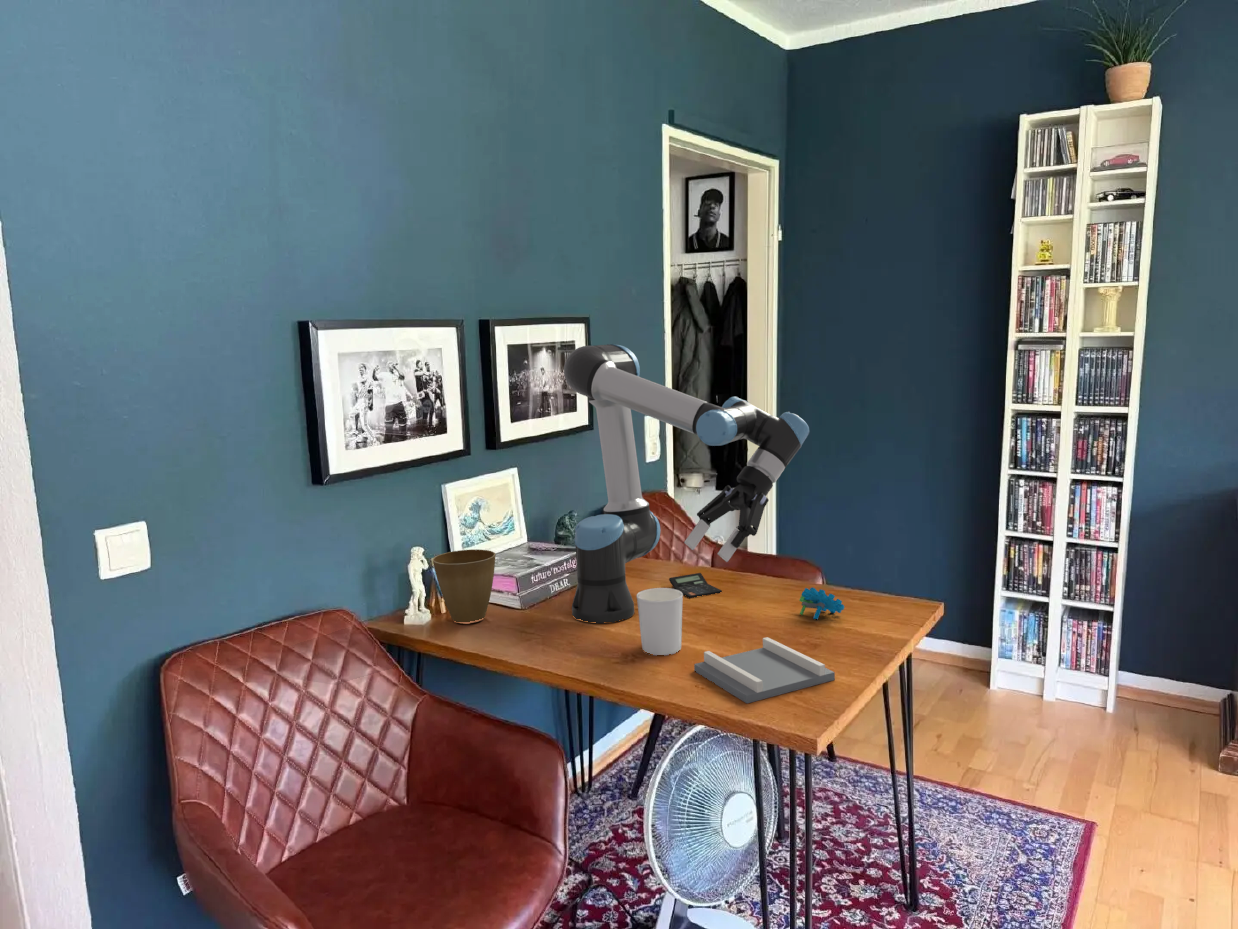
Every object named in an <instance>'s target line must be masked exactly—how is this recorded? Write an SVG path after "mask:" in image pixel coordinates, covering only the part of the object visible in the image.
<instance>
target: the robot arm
mask: <svg viewBox="0 0 1238 929" xmlns="http://www.w3.org/2000/svg"><path fill="white" fill-rule="evenodd" d="M640 373H641V367H640V363H639V360H638V358H637V356H636V355H635V353H634V352H633V351H631V350H630V349H629V348H628V347H626V346H624V345H620V344H614V343H612V344H611V343H607V344H598V345H583V346H579V347H577V348H576V349H574V350H573V351H571V353H570V354H569V355H568V356H567V358H566V360H565V362H564V366H563V375H564V379H565V382H566V384H567V385H568V386H569V387H570V388H571V389H572V390H573V391H574V392H576V393H578V394H579V395H582V396H584V397H587V398H588V402H589V403H590V404H591V405H592V406H593V407H595V409H596V410H595V411H596V412H595V413H596V417H597V425H598V433H599V441H600V447H601V448H600V449H601V455H602V456H601V457H602V463H603V470H604V471H603V472H604V478H605V486H606V493H607V494H606V495H607V499H608V500H607V504H606V505H605V506H604V507H603V514H597V515H595V516H594V515H593V516H589V517H585V518H584V519H581V520H580V521H579V522H578V523H577V524H576V526H575V530H574V531H575V532H574V534H575V535H574V544H575V558H576V575H577V576H576V578H577V586H576V590H575V594H574V597H573V601H572V605H571V616H572V615H573V616H574V617H575V618H576V619H581V620H583V621H588V622H596V623H595V624H605V623H604V622H612V623H616V622H615V621H618V622H620V621H619V620H622V619H625V620H627V619H630V618H632V616H633V615H634V614H635V603H634V599H633V597H632V595H631V591H630V589H629V587H628V584H627V579H626V564H627V563H629V562H631V561H634V560H636V559H639V558H641V557H644V556H646V555H647V554H648V553H650V552H652V551H653V550H654V548H656V546H657V545H658V544H659V543H658V542H659V541H660V538H661V524H660V521H659V519H658V517H657V516H655V515H654V513H653V511H651V509H650V503H649V502H648V501H647V500H646V499H644V497H643V493H642V485H641V479H640V472H639V463H638V455H637V448H636V441H635V440H636V439H635V433H634V425H633V416H632V411H635V412H637V413H640V414H642V415H644V416H648V417H651V418H653V419H655V420H657V421H660V422H663V423H666V424H668V425H671V426H673V427H675V428H678V429H681V430H683V431H685V432H689V433H691V434H693V435H695V436H697V437H698V439H700V441H702V442H703V443H704V444H705V445H707V446H710V447H711V446H712V447H713V446H714V447H715V446H718V447H719V446H724V445H728V444H729V443H732V442H735V441H739V440H742V439H744V440H746V441H749V442H751V443H752V444H754V445H756V446H758V447H757V449H756V450H755V451H754V453H753V454H752V456H750V458H749V460H748V461H747V462H746V466H744V467H743V468H742V469H741V471H740V472H739V474H738V475H737V476H736V482H737V485H736V486H735V487H734V488H732V487H731V486H730V485H729V484H727V485H726V486H725V487H724V488H723V489H722V490H721V492H720V493H719V494H717V495H716V496H715V497H714V498H713V499H712V500H710V501H709V502H708V503H707V504H706V505H705V506H704V507H702V508H701V509H700V510H699V511H698V512H697V513H696V516H697V517H698V518H699V520H698V522H697V523H696V525H695V526H694V527H693V529H692V530H691V532H690V533H689V535H687V537H686V539H685V540H684V542H683V543H684V544H685V545H686V546H687V547H688V548H689V549H690V550H692V551H694V550H695V548H697V546H698V544H699V543H700V542H701V541H702V539H703V537H704V536H705V535H706V533H707V532H708V530H709V529H710V528H711V524H712V523H713V522H715V521H717V520H718V519H720V518H721V517H722V516H724V515H726V514H728V513H729V512H734V511H739V519H738V526H736V528H734V529H733V530H732V532H731V534H730V535H729V537H728V538H727V540H726V541H725V542H724V544H723V545H722V546H721V548H720V549H719V551H718V552H717V555H718V556H719V557H720V558H722V560H724V561H725V563H728V562H729V560H730V559H731V558H732V557H733V555H734V553H735V552H736V551H737V549H739V547H740V546H741V544H742V543H743V541H744V540H745V539H746V538H748V537H749V536H752V537H754V536H756V535H757V534H758V530H759V527H760V524H761V520H762V517H763V513H764V510H765V507H766V506H767V504H768V502H769V498H768V497H767V495H768V494H769V492H770V491H771V490H772V488H773V487H774V484H775V483H776V482H777V480H778V479H779V478H780V477H781V475H782V473H783V472H784V471H785V469H786V468H787V467H788V465H789V464H790V463H791V461H792V460H793V458H794V457H795V455H796V454H797V453H798V452H799V450H800V449H801V448H802V445H803V444H804V442H805V440H806V439H807V438H808V436H809V435H810V427H809V424H808V423H807V422H806V421H805V420H804V419H803V418H802V417H800V416H799V415H798V414H796V413H792V412H790V411H786V412H783V413H782V414H780V416H779V417H777V416H774V415H772V414H771V413H769V412H766V411H765V410H762V409H761V408H759V407H757V406H756V405H753V404H752V403H751V402H749V401H747V400H745V399H742V398H739V397H738V396H731V397H729V398H728V399H727V400H725V401H724V403H723V404H722V406H719V405H716V404H713V403H709V402H708V401H705V400H703V399H700V398H697V397H695V396H693V395H689V394H687V393H684V392H681V391H678V390H676V389H673V388H670V387H668V386H665V385H662V384H660V383H657V382H654V381H651V380H649V379H647V378H643V377H641V376H640ZM576 619H575V620H576ZM622 621H623V620H622Z"/></svg>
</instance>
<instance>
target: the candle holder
mask: <svg viewBox="0 0 1238 929" xmlns="http://www.w3.org/2000/svg"><path fill="white" fill-rule="evenodd" d="M635 597H636V601H637V602H636V603H637V611H638V622H639V632H640V641H641V648H642V651H643V650H644V651H645V652H647V653H650V654H653V655H652V656H657V655H664V656H669V654H671V655H674V654H676V652H677V653H678V651H679V650H680V651H681V649H682V640H683V639H682V638H683V628H682V627H683V597H684V595H683V593H682V592H681V591H679V590H676V589H674V588H669V587H656V588H654V587H653V588H647V589H644V590H641V591H639V592H638V593H636V596H635ZM644 651H643V652H644ZM680 651H679V652H680ZM645 652H644V653H645ZM647 653H646V654H647ZM650 654H649V655H650Z"/></svg>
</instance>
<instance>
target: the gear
mask: <svg viewBox="0 0 1238 929" xmlns="http://www.w3.org/2000/svg"><path fill="white" fill-rule="evenodd" d="M835 598H836V595H834V594H833V593H829V594H828V595H827V594H826V591H825V590H824V589H820V588H819V591H818V590H817V589H816V588H815V587H810V588H807V587H805V588H804V590H803V591H802V593H801V595H800V598H799V602H801V606H802V607H801V609H800V612H799V615H800V614H801V615H800V616H803V615H804V613H805V610H806V608H807V609H816V611H815V613H814V615H813V618H812V619H813V620H815V619H817V620H816V621H818V619H819V618H820V617H819V616H820V614H821V613H822V611H823V612H826V611H827V610H828V611H829V613H830V614H835V613H839V614H841V613H842V611H844V609H845V605H844V604H843V601H842V600H841V599H839V598H837V599H835Z"/></svg>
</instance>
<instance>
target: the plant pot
mask: <svg viewBox="0 0 1238 929" xmlns="http://www.w3.org/2000/svg"><path fill="white" fill-rule="evenodd" d="M432 563H433V568H434V573H435V576H436V580H437V583H438V586H439V589H440V593H441V596H442V598H443V601H444V604H445V606H446V608H447V611H448V612H449V616H450V617H451V620H452V621H453V620H454V621H456V622H470V621H475V620H479V619H482V618H484V617H486V615H487V611H488V607H489V604H490V599H491V594H492V589H493V584H494V575H495V568H496V566H495V564H496V552H495V551H493V550H489V549H475V548H474V549H462V550H461V549H460V550H454V551H448V552H445V553H441V554H438V555H435V556H434V557H433V558H432ZM484 619H485V618H484ZM454 621H453V622H454Z"/></svg>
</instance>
